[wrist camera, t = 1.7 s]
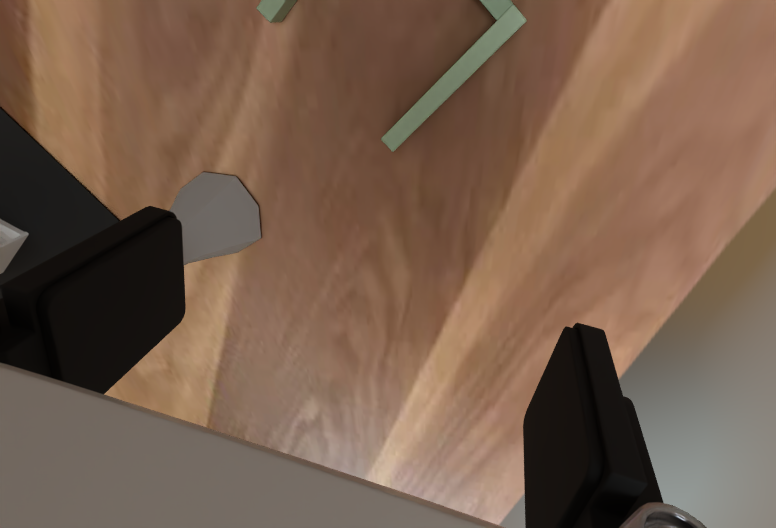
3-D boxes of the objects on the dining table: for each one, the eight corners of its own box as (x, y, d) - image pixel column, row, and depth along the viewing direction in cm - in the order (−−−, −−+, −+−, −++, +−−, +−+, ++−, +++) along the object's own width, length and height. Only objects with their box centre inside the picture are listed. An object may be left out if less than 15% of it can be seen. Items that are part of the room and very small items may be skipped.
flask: (169, 179, 40) (74, 226, 31) (243, 162, 38) (163, 208, 29) (205, 256, 43) (127, 319, 34) (275, 244, 41) (212, 308, 32)
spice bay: (268, 8, 32) (255, 8, 30) (381, -156, 27) (373, -167, 25) (398, 145, 34) (392, 152, 33) (526, 19, 29) (527, 20, 27)
